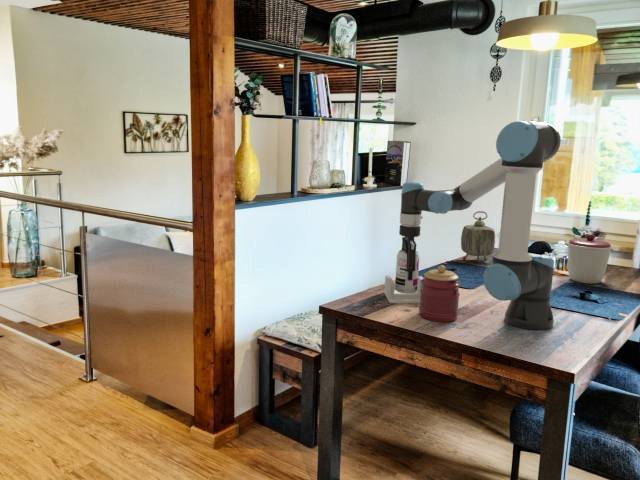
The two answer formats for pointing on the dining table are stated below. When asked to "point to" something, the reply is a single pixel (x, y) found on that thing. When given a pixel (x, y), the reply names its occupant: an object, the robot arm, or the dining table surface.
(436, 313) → the canister
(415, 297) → the can holder
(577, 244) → the canister
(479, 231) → the tabletop clock
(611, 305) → the dining table surface
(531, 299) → the robot arm
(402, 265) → the supplement can
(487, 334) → the dining table surface
